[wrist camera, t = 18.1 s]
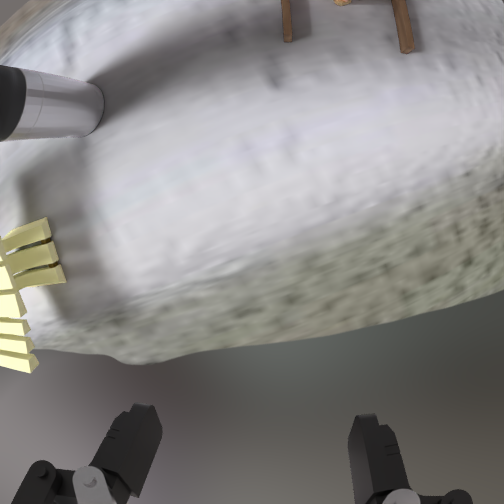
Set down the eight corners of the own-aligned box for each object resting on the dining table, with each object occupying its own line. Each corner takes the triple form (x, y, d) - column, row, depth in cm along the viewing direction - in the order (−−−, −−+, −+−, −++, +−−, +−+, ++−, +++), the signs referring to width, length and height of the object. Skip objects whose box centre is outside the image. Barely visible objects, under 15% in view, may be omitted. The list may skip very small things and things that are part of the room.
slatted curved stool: (-3, 195, 44) (-65, 216, 27) (37, 173, 42) (-37, 191, 25) (37, 321, 53) (-10, 362, 36) (82, 320, 51) (30, 373, 34)
